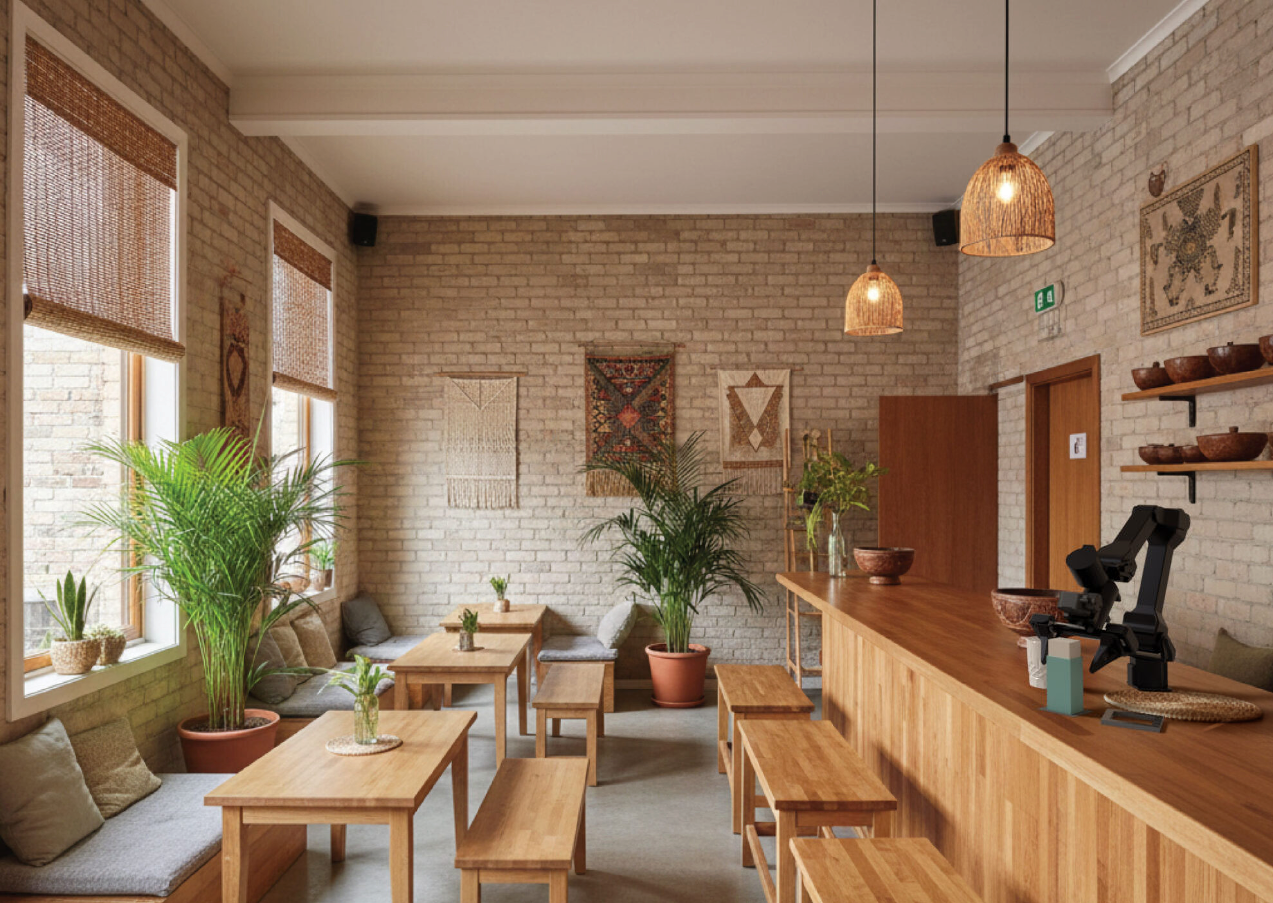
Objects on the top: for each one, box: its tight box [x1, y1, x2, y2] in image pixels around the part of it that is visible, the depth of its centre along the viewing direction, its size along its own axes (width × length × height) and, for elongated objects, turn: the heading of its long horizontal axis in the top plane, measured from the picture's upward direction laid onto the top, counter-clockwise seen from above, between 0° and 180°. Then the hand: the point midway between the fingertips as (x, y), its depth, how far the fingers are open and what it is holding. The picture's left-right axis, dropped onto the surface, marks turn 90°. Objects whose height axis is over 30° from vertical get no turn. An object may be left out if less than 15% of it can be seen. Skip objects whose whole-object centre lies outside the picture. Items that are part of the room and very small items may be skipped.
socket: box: [1100, 708, 1165, 734], centre depth 156 cm, size 12×12×1 cm
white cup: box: [1025, 636, 1047, 690], centre depth 183 cm, size 8×8×10 cm
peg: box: [1046, 637, 1084, 715], centre depth 164 cm, size 4×4×13 cm
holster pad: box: [1038, 705, 1094, 718], centre depth 164 cm, size 7×7×1 cm
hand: (1066, 667), depth 164 cm, fingers open, 9 cm apart
